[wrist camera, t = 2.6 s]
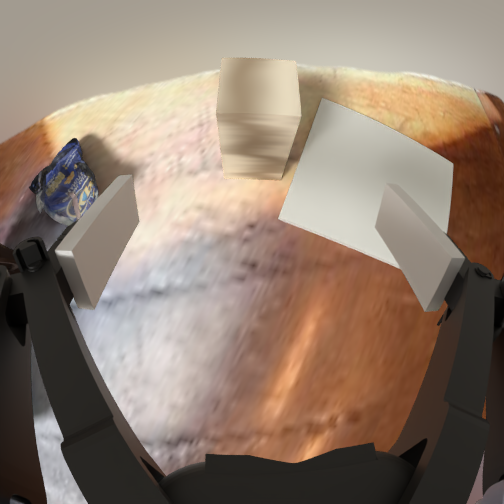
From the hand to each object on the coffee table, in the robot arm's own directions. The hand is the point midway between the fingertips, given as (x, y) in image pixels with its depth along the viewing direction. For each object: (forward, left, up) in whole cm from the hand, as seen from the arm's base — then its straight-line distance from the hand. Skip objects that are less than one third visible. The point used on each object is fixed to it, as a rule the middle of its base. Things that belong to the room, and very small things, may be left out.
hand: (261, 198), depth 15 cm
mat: (-11, -13, -15) cm, 23 cm away
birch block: (+4, -10, -15) cm, 19 cm away
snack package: (+23, +1, -16) cm, 28 cm away
